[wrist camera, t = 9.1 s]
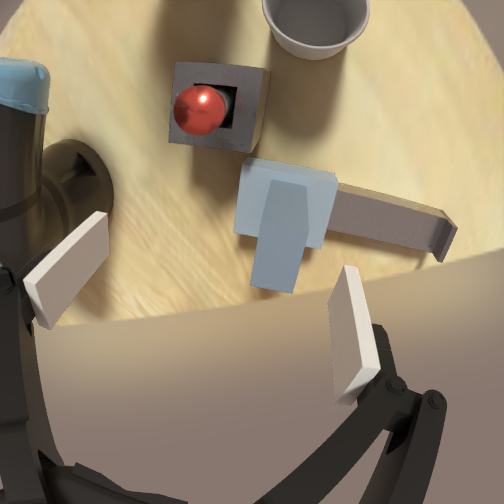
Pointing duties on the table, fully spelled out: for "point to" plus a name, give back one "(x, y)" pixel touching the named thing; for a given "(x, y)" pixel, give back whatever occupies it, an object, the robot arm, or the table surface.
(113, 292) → the table surface
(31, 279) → the robot arm
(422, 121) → the table surface
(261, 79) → the grey cube box
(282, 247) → the carriage
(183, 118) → the plunger
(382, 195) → the rail
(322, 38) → the mug
